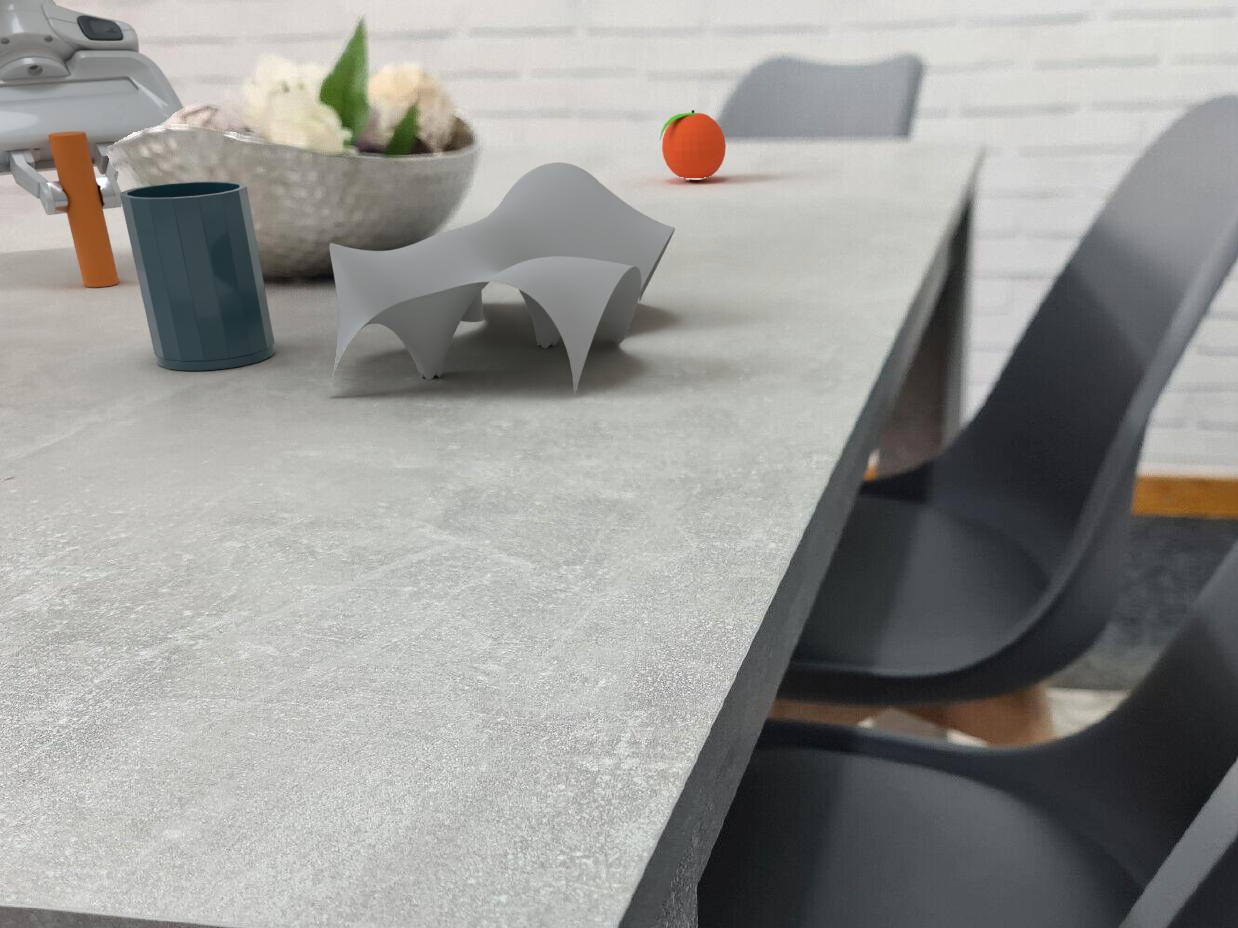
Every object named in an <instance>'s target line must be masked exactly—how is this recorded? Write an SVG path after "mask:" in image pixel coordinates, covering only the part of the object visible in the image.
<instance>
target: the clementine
mask: <svg viewBox="0 0 1238 928" xmlns="http://www.w3.org/2000/svg"><path fill="white" fill-rule="evenodd" d="M660 131H661V133H660V135H659V140H661V139H662V142H661V143H662V145H661V150H662V156H663V159H664V161H665V163H666V166H667V167H668V168H669V170H670V171H671V172H672V173H673V174H674V175H675V176H677V177H678V176H679V177H678V178H680V177H684V178H704V177H708V178H710V177H712V176H713V175H714V174H716V172H718V171H719V170H720V168H721V166H722V165H723V163H724V159H725V157H726V150H727V149H726V148H727V146H726V138H725V135H724V132H723V129H722V128H721V126H720V125H719V124H718V122H717V121H716V120H715V119H713V118H712V117H711V116H710V115H708V114H706V113H701V112H695V110H694V109H692V110H691V112H684V113H678V114H675V115H673V116H672V117H670V118H669V119H668V120H667V121H666V122H665V124H664V125H663V126H662V129H661V130H660ZM662 136H663V137H662ZM709 176H710V177H709Z"/></svg>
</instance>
